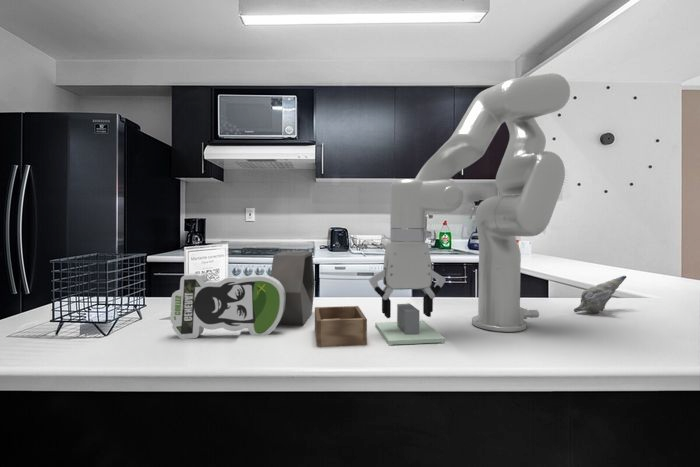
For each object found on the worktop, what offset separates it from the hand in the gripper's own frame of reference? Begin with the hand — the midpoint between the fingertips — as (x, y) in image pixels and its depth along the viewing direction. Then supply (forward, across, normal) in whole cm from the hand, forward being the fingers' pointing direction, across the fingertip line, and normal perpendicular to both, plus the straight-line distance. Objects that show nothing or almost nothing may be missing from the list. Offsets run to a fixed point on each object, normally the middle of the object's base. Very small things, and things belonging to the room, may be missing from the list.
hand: (407, 315), depth 85 cm
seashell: (+5, -60, -15) cm, 62 cm away
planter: (+5, +25, -17) cm, 31 cm away
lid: (+5, 0, 0) cm, 5 cm away
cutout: (+5, +39, -6) cm, 40 cm away
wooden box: (+5, +15, 0) cm, 16 cm away
